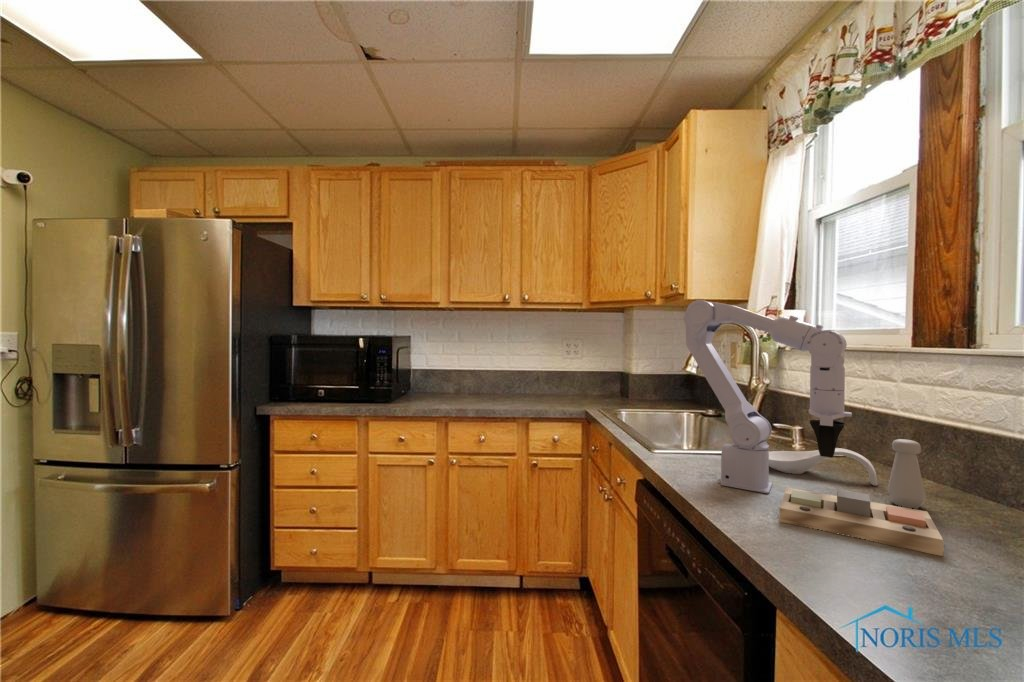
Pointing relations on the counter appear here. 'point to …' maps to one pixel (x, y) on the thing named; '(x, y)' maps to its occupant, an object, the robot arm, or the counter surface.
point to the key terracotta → (905, 516)
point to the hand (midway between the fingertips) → (826, 456)
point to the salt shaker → (906, 475)
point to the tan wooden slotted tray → (862, 523)
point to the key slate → (853, 503)
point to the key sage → (806, 499)
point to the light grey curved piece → (812, 461)
